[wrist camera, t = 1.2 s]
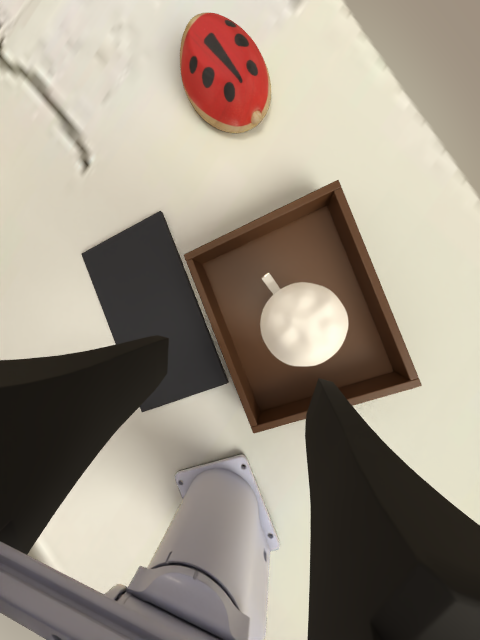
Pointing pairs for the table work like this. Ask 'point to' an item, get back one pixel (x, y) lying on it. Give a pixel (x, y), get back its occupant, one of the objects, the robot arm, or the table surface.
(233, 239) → the tray
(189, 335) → the mouse pad
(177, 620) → the robot arm
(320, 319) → the milkshake
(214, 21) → the ladybug figurine
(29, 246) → the table surface
